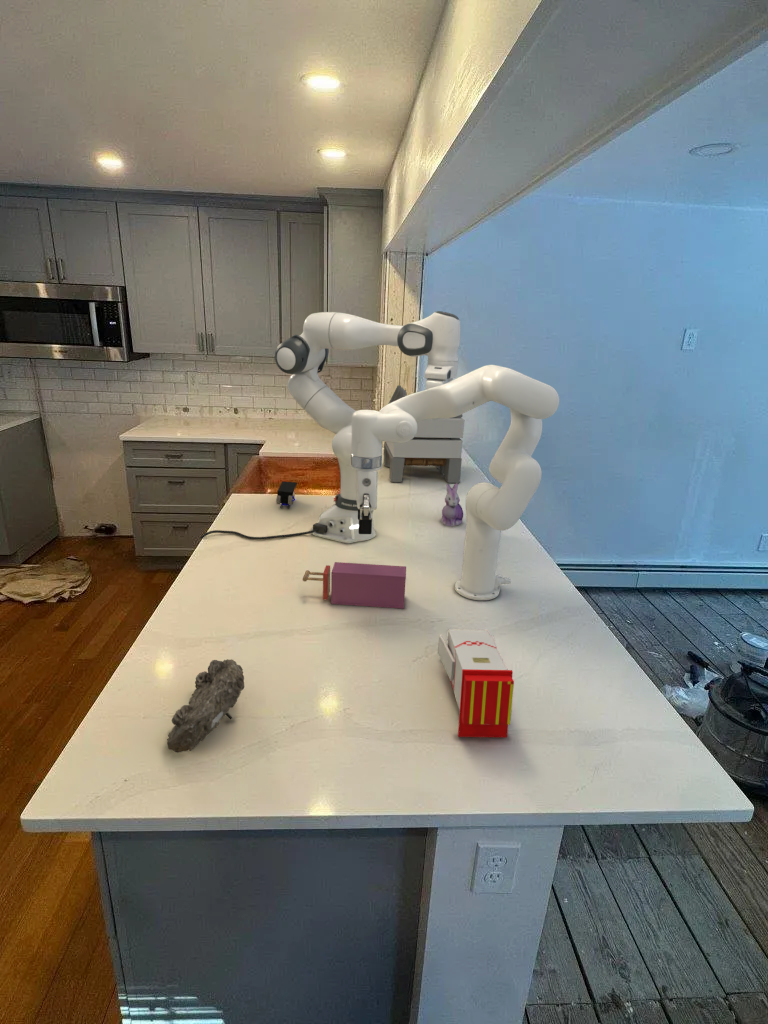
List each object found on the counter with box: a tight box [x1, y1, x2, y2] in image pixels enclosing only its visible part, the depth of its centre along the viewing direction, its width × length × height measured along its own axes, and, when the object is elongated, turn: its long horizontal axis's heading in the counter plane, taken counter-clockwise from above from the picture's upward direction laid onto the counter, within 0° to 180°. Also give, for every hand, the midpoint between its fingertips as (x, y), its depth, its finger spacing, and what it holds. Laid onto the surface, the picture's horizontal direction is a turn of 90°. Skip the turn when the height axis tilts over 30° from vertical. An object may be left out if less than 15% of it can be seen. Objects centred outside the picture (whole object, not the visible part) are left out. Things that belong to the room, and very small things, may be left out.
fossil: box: [166, 658, 245, 754], centre depth 106 cm, size 22×10×15 cm
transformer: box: [382, 384, 465, 484], centre depth 268 cm, size 34×33×41 cm
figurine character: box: [275, 480, 298, 509], centre depth 223 cm, size 7×8×15 cm
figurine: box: [440, 483, 464, 527], centre depth 210 cm, size 9×10×15 cm
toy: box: [437, 628, 515, 738], centre depth 117 cm, size 12×13×30 cm
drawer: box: [302, 564, 331, 601], centre depth 152 cm, size 24×5×8 cm, turn 87°
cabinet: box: [330, 561, 407, 609], centre depth 152 cm, size 19×6×9 cm, turn 87°
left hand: (438, 417), depth 171 cm, fingers open, 8 cm apart
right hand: (364, 526), depth 144 cm, fingers open, 9 cm apart
